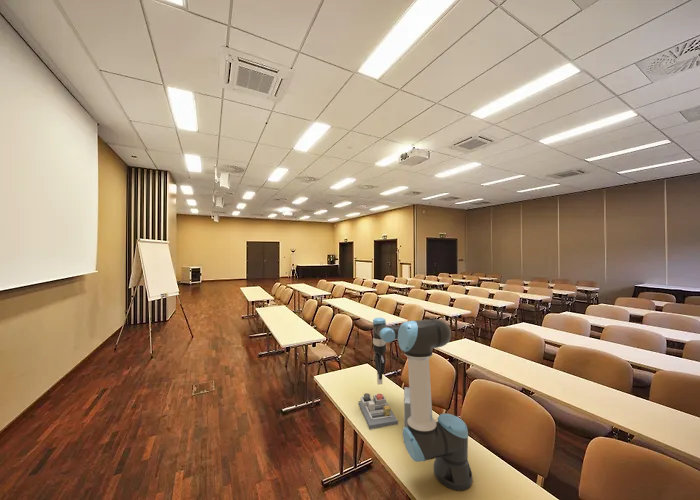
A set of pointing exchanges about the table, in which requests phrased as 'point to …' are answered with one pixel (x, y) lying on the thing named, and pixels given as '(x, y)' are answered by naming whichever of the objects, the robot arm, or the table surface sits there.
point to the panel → (377, 413)
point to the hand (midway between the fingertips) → (379, 383)
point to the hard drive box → (406, 406)
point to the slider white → (371, 406)
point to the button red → (379, 396)
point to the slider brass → (386, 410)
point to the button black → (366, 397)
